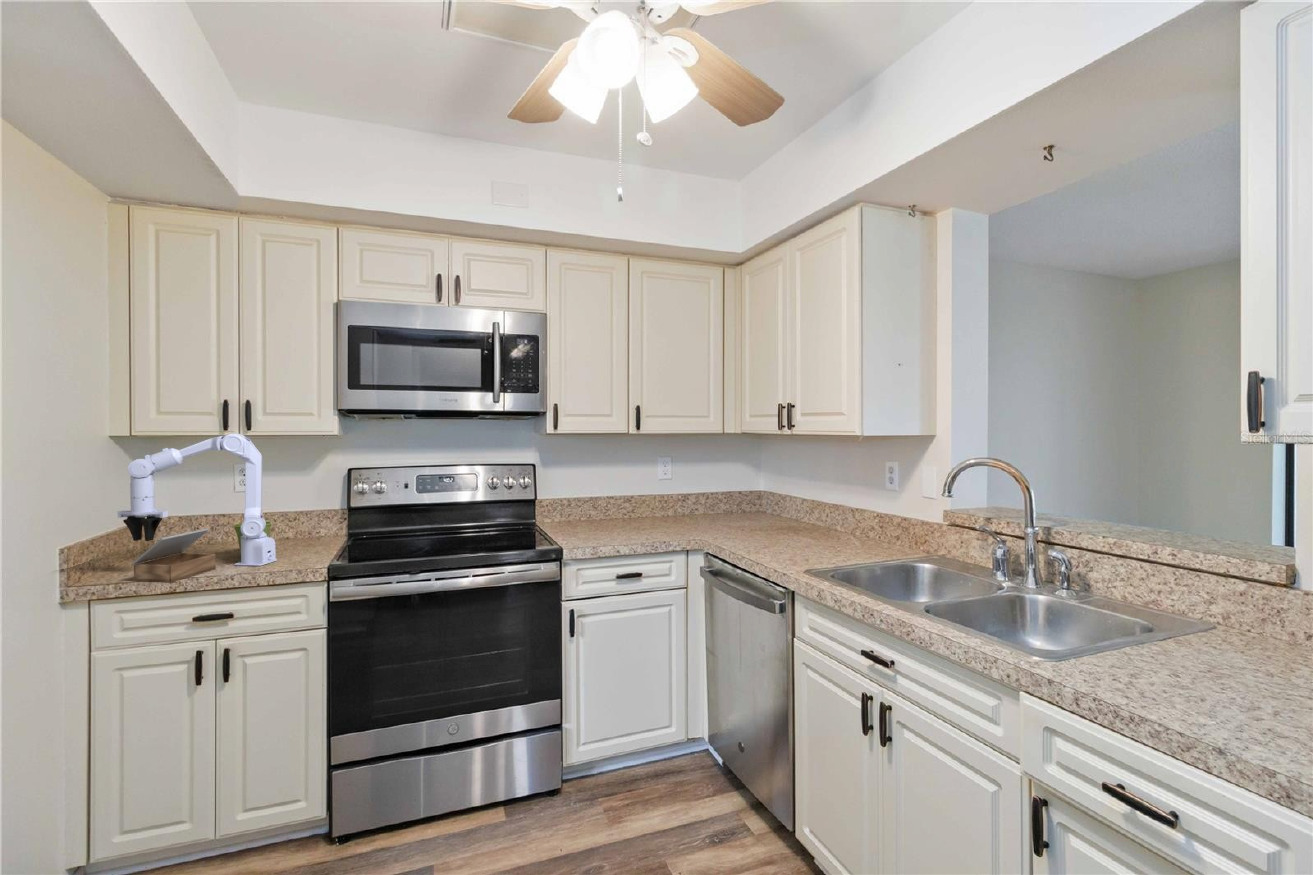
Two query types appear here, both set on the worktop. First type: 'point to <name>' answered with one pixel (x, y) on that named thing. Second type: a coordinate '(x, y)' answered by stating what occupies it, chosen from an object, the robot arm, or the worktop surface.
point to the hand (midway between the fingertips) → (143, 540)
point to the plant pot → (239, 534)
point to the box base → (174, 567)
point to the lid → (170, 546)
